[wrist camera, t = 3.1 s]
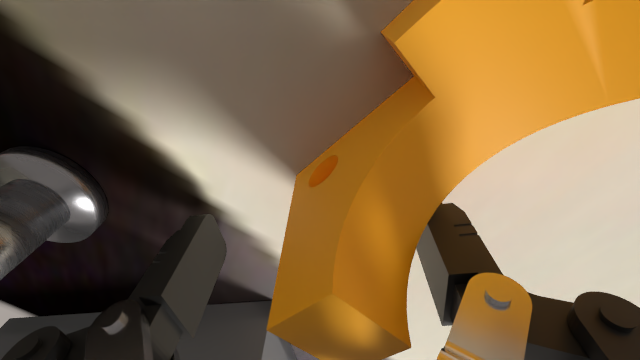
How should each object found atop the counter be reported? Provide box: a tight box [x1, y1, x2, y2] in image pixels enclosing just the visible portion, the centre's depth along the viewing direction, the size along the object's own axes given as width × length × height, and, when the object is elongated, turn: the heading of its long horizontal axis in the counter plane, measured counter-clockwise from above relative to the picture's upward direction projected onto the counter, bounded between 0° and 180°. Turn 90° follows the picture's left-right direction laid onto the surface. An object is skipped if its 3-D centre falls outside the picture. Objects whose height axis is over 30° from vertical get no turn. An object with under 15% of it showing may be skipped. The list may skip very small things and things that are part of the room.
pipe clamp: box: [267, 0, 640, 360], centre depth 7 cm, size 12×4×6 cm, turn 134°
